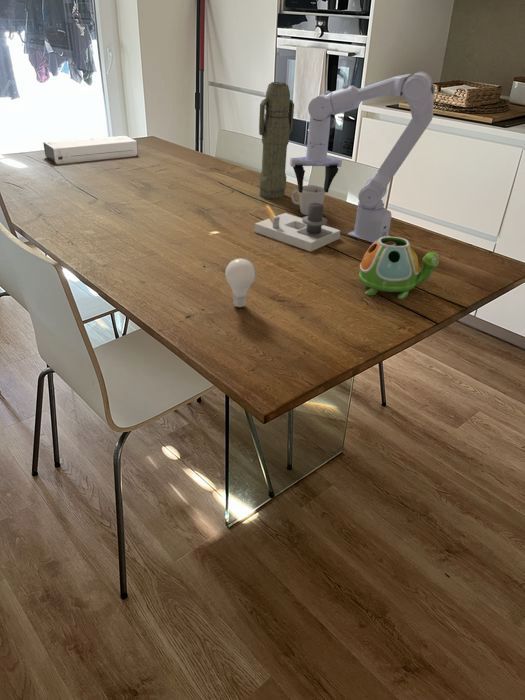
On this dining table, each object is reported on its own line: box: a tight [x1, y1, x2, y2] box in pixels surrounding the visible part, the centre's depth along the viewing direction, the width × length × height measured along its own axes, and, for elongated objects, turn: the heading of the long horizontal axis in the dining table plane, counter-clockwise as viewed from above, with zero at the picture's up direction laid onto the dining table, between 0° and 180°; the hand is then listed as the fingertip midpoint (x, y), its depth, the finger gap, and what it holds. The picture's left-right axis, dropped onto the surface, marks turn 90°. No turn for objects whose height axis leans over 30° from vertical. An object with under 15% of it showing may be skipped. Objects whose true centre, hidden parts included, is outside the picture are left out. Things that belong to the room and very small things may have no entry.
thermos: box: [258, 81, 295, 200], centre depth 183 cm, size 9×12×35 cm
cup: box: [291, 184, 326, 216], centre depth 176 cm, size 11×8×8 cm
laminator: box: [43, 135, 139, 165], centre depth 223 cm, size 34×12×6 cm, turn 125°
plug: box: [302, 203, 328, 234], centre depth 154 cm, size 7×7×7 cm
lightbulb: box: [224, 257, 256, 309], centre depth 119 cm, size 6×6×11 cm
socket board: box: [254, 212, 341, 252], centre depth 160 cm, size 20×14×3 cm
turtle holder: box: [358, 236, 440, 300], centre depth 131 cm, size 12×18×12 cm
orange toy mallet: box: [265, 204, 280, 228], centre depth 162 cm, size 2×13×3 cm, turn 12°
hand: (313, 191), depth 162 cm, fingers open, 7 cm apart
